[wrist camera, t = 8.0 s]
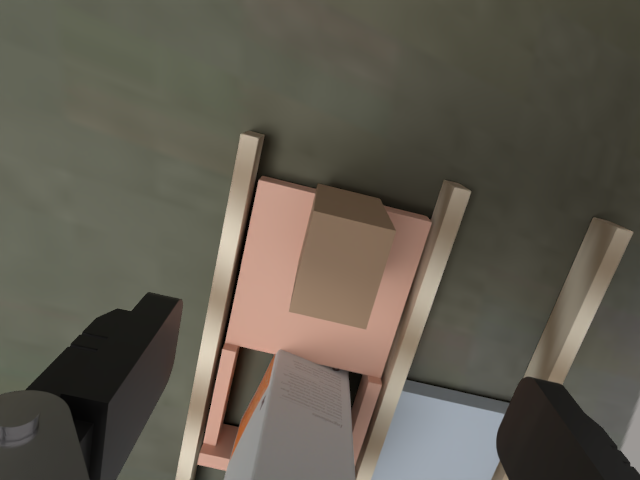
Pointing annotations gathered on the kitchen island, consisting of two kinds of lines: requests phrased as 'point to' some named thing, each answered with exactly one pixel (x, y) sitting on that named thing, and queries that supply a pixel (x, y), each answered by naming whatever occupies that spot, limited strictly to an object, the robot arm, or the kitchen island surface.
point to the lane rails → (547, 361)
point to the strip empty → (440, 436)
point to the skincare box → (296, 425)
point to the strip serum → (318, 292)
